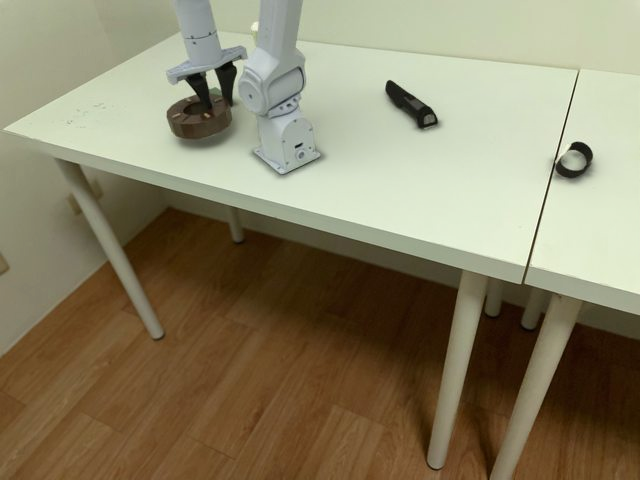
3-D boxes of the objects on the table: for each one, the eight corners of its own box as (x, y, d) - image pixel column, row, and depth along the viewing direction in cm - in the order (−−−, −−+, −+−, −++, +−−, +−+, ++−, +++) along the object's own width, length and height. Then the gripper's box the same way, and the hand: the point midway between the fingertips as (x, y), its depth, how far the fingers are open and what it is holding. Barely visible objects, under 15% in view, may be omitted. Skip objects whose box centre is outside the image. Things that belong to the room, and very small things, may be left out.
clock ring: (243, 122, 84) (239, 106, 82) (186, 146, 80) (180, 129, 78) (216, 102, 91) (212, 86, 89) (162, 123, 87) (156, 107, 85)
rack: (233, 104, 96) (226, 72, 91) (198, 118, 93) (188, 86, 89) (217, 91, 101) (209, 61, 97) (183, 104, 98) (173, 73, 94)
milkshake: (276, 66, 108) (269, 21, 101) (254, 66, 109) (246, 21, 102) (281, 58, 111) (275, 13, 104) (260, 58, 112) (252, 14, 105)
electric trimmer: (397, 91, 94) (397, 76, 91) (439, 124, 83) (440, 108, 80) (380, 96, 93) (380, 81, 91) (420, 130, 82) (421, 114, 80)
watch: (564, 150, 73) (570, 130, 71) (596, 159, 71) (604, 138, 69) (545, 175, 69) (551, 154, 67) (579, 185, 67) (586, 164, 65)
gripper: (227, 15, 82) (243, 88, 91) (149, 39, 77) (175, 114, 86) (246, 24, 78) (261, 100, 87) (164, 50, 72) (190, 128, 82)
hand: (219, 108), depth 86 cm, fingers closed on clock ring, 3 cm apart
